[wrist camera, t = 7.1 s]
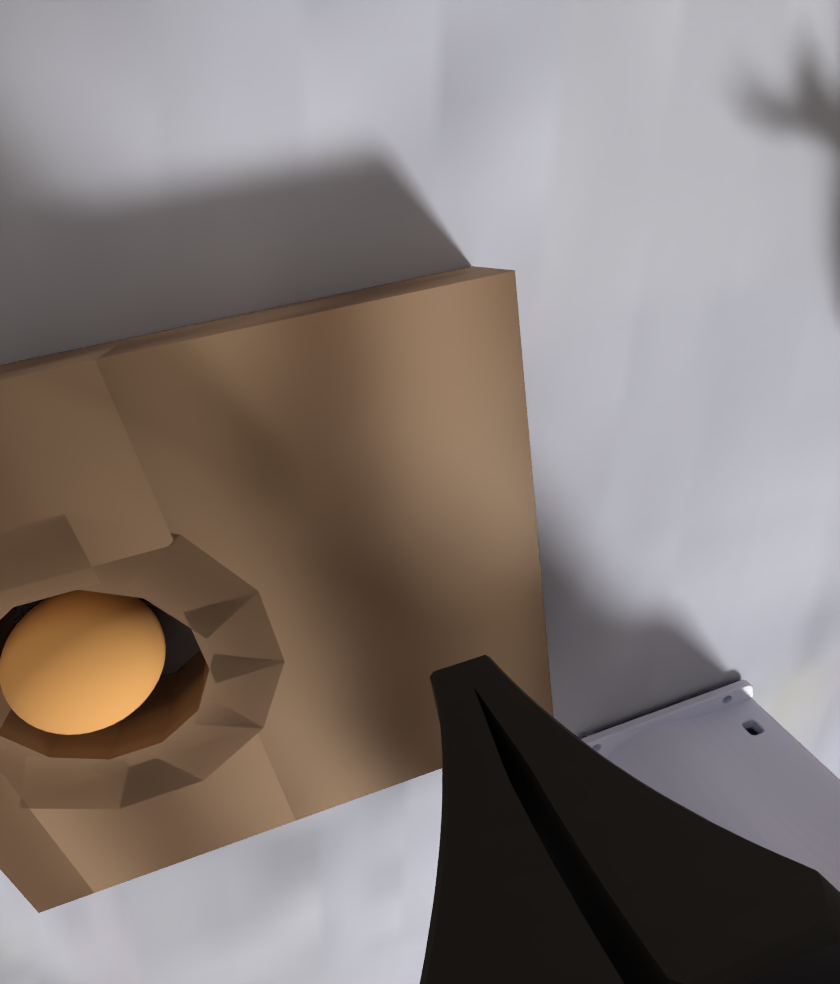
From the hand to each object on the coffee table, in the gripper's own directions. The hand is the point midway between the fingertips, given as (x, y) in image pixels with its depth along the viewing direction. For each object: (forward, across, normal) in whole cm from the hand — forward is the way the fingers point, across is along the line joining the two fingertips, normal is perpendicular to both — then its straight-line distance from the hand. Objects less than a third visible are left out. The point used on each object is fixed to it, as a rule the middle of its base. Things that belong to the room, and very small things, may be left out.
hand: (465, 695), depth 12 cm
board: (+7, +5, 0) cm, 9 cm away
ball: (+5, +10, 0) cm, 11 cm away
